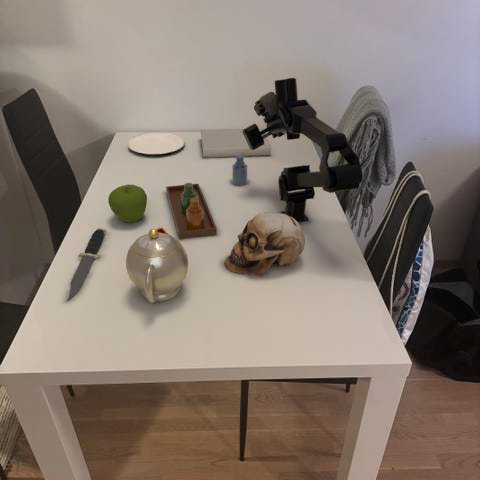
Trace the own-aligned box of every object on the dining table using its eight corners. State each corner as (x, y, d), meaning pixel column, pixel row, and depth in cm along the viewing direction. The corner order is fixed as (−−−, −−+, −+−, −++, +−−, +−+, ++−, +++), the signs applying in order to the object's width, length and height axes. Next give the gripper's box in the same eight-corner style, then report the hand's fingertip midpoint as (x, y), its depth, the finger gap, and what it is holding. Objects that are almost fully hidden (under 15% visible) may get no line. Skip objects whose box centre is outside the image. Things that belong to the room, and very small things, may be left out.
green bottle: (199, 215, 137) (198, 187, 131) (183, 217, 136) (181, 189, 130) (197, 207, 140) (195, 180, 135) (180, 209, 139) (178, 181, 134)
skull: (218, 264, 118) (222, 215, 110) (260, 243, 130) (267, 196, 122) (268, 291, 111) (277, 240, 103) (307, 266, 123) (318, 218, 115)
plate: (119, 154, 171) (118, 149, 170) (141, 134, 186) (141, 130, 185) (173, 160, 167) (173, 155, 166) (192, 139, 183) (192, 135, 182)
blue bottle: (248, 184, 153) (249, 159, 148) (234, 186, 153) (234, 160, 147) (245, 178, 157) (245, 153, 151) (230, 179, 156) (230, 154, 151)
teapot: (138, 271, 116) (129, 211, 106) (194, 273, 116) (190, 213, 105) (120, 319, 103) (107, 255, 92) (183, 322, 102) (177, 258, 92)
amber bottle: (206, 231, 130) (204, 203, 124) (188, 233, 129) (186, 205, 123) (202, 223, 133) (201, 195, 128) (185, 225, 132) (183, 196, 127)
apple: (129, 207, 141) (124, 175, 135) (157, 216, 137) (153, 183, 131) (104, 222, 134) (97, 189, 128) (132, 232, 130) (127, 199, 124)
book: (200, 130, 180) (263, 128, 182) (201, 140, 183) (262, 138, 185) (203, 148, 167) (270, 146, 169) (203, 159, 169) (270, 156, 171)
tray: (216, 234, 130) (216, 228, 128) (179, 239, 128) (178, 232, 127) (198, 189, 150) (198, 183, 149) (166, 192, 149) (165, 186, 147)
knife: (110, 233, 130) (91, 230, 129) (109, 228, 128) (91, 225, 128) (80, 305, 108) (57, 302, 108) (79, 299, 107) (57, 296, 106)
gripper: (301, 77, 129) (279, 87, 143) (242, 109, 126) (226, 116, 141) (316, 117, 133) (293, 123, 147) (260, 149, 131) (243, 152, 145)
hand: (264, 128), depth 145 cm, fingers open, 9 cm apart
